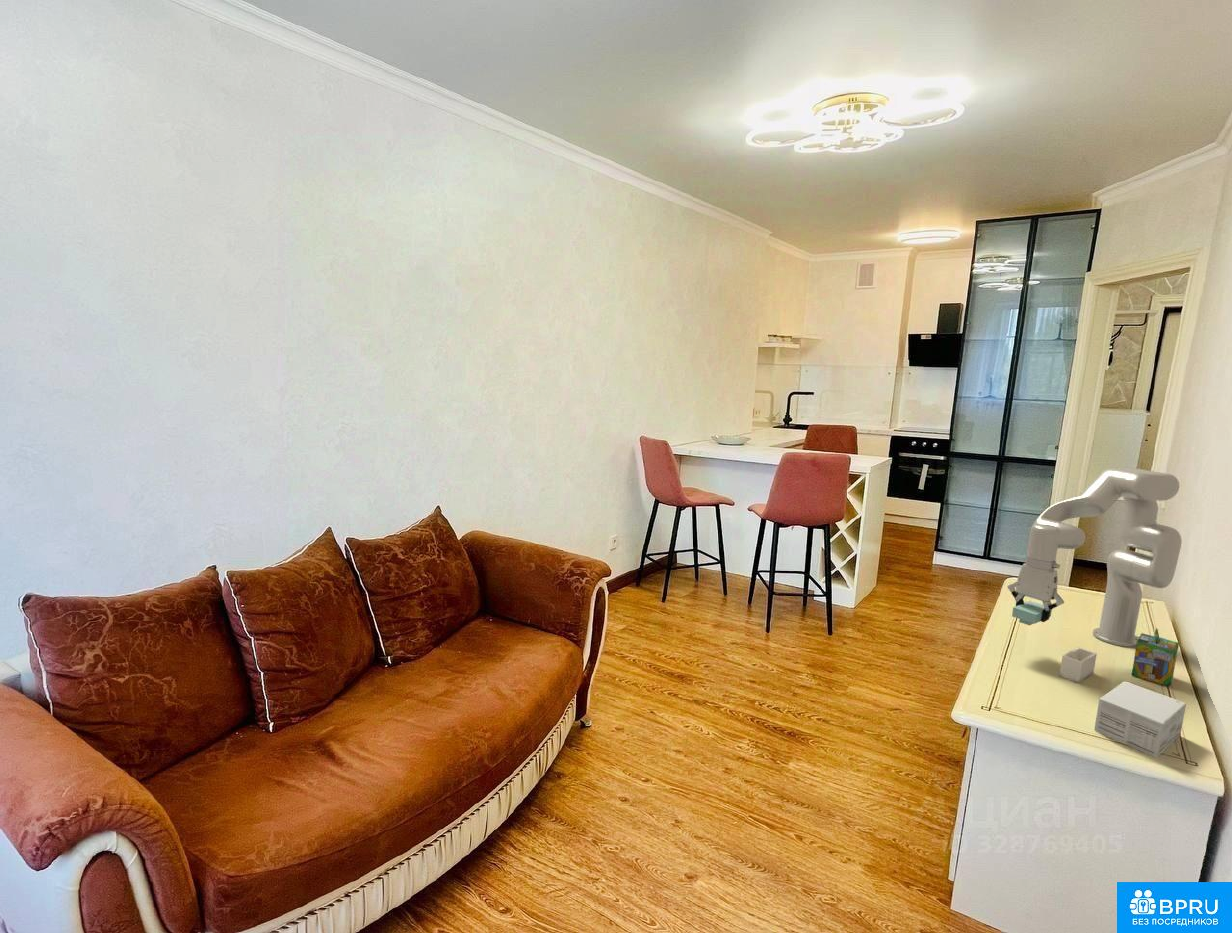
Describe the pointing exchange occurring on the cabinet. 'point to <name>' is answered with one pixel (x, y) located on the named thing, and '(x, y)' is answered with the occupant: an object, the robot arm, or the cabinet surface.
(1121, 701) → the supplement box
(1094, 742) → the cabinet surface
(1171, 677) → the chalk box
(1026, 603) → the lid
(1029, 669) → the cabinet surface
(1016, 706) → the cabinet surface
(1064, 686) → the cabinet surface
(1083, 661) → the box
